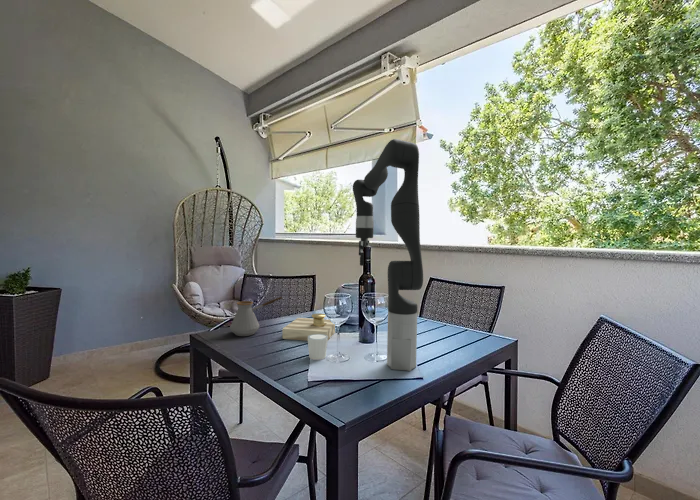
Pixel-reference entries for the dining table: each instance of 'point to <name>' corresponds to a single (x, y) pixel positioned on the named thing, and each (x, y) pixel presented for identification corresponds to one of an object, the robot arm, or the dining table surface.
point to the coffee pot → (247, 318)
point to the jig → (307, 329)
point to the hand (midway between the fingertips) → (364, 264)
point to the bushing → (318, 319)
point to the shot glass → (317, 346)
